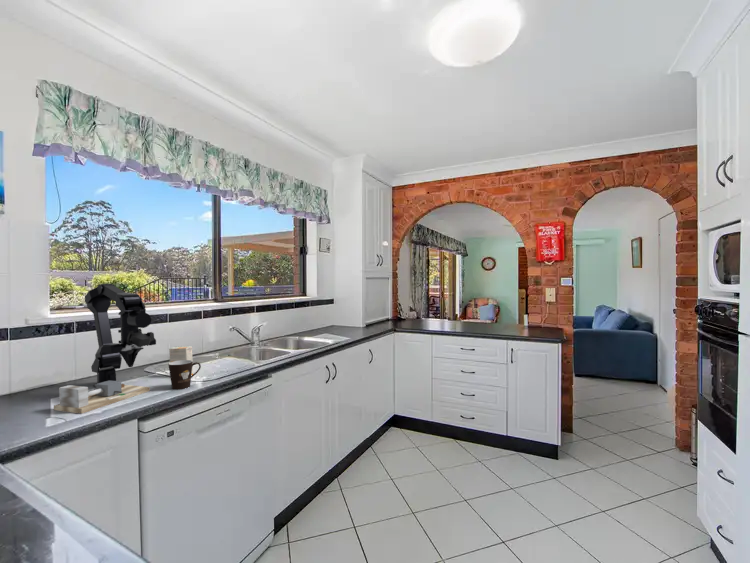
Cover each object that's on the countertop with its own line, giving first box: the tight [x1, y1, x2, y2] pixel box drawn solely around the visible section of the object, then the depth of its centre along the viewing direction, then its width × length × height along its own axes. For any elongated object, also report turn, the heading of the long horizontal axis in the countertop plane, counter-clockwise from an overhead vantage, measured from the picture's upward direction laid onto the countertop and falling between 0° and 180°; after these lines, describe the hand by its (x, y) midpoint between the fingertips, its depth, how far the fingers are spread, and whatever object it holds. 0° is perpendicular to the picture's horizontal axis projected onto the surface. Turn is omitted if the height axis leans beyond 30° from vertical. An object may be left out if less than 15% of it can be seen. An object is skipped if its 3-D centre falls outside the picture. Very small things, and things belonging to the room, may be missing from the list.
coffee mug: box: [168, 360, 202, 391], centre depth 148 cm, size 12×9×10 cm
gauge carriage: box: [88, 380, 122, 397], centre depth 132 cm, size 9×11×4 cm
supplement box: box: [168, 345, 194, 375], centre depth 165 cm, size 8×5×13 cm, turn 84°
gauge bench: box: [53, 383, 151, 414], centre depth 134 cm, size 13×25×8 cm, turn 162°
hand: (130, 367), depth 143 cm, fingers closed
